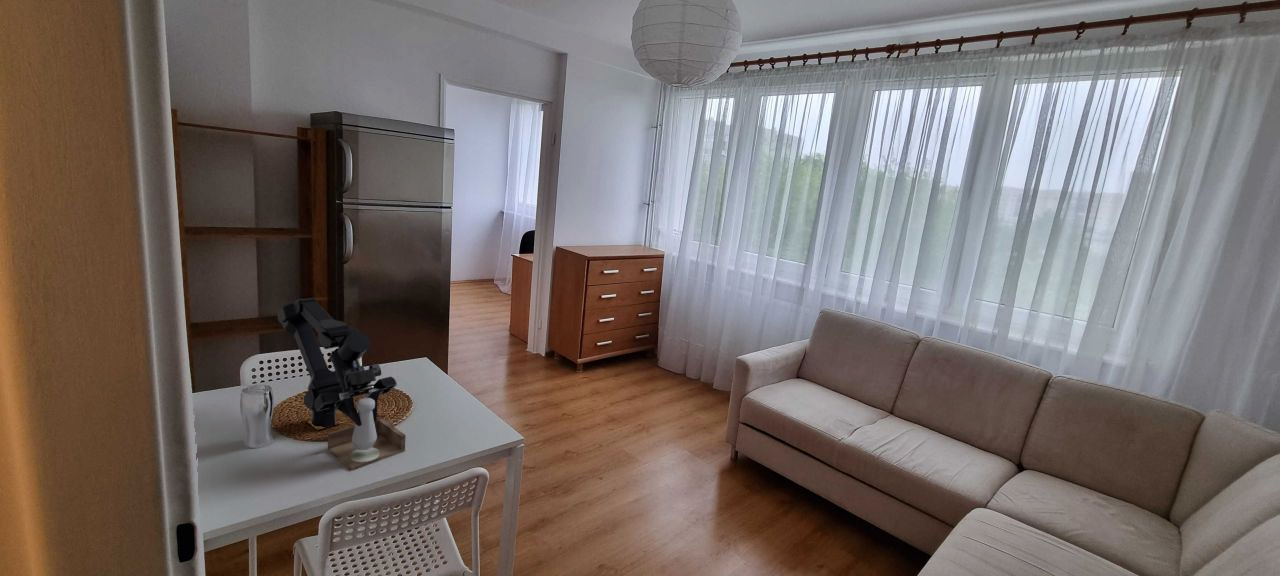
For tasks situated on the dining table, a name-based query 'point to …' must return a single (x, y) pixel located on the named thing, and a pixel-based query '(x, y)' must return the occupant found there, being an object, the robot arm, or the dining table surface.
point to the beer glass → (257, 414)
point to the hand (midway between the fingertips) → (367, 423)
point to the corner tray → (384, 447)
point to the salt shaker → (365, 425)
